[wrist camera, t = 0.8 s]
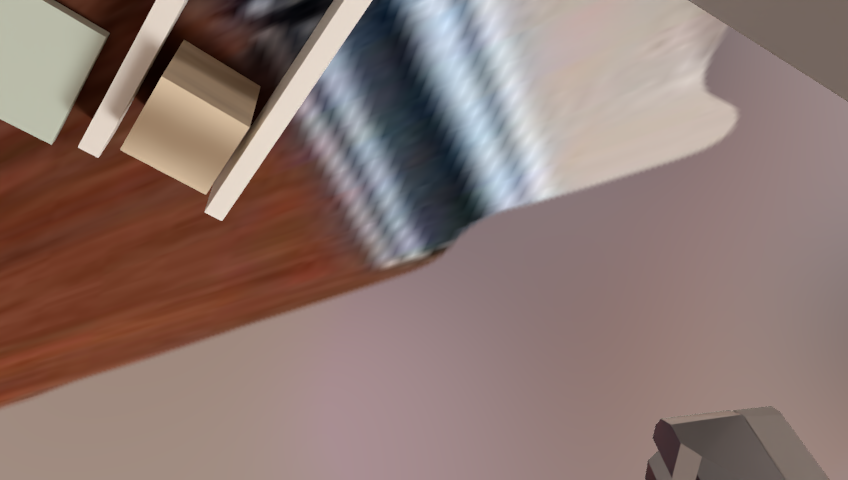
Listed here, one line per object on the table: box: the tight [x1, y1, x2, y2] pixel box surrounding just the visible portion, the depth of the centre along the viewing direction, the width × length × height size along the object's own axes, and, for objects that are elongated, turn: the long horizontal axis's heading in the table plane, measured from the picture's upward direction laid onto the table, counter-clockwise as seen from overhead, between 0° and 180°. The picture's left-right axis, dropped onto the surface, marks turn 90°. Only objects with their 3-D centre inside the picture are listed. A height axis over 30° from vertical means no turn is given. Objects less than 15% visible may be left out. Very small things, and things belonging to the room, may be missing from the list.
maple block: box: [120, 40, 261, 195], centre depth 39 cm, size 5×5×6 cm
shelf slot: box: [78, 0, 372, 221], centre depth 39 cm, size 19×9×4 cm, turn 143°
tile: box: [0, 0, 110, 145], centre depth 39 cm, size 8×8×1 cm
